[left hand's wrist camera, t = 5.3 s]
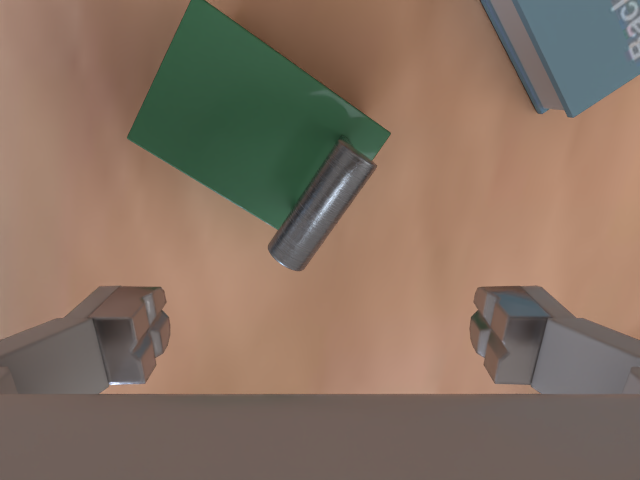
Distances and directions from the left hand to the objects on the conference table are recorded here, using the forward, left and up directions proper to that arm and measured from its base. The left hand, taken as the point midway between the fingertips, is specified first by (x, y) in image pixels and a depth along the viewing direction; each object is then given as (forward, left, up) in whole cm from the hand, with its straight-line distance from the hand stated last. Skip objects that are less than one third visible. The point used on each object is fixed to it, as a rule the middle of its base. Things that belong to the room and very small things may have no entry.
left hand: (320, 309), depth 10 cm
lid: (-3, +4, -17) cm, 18 cm away
